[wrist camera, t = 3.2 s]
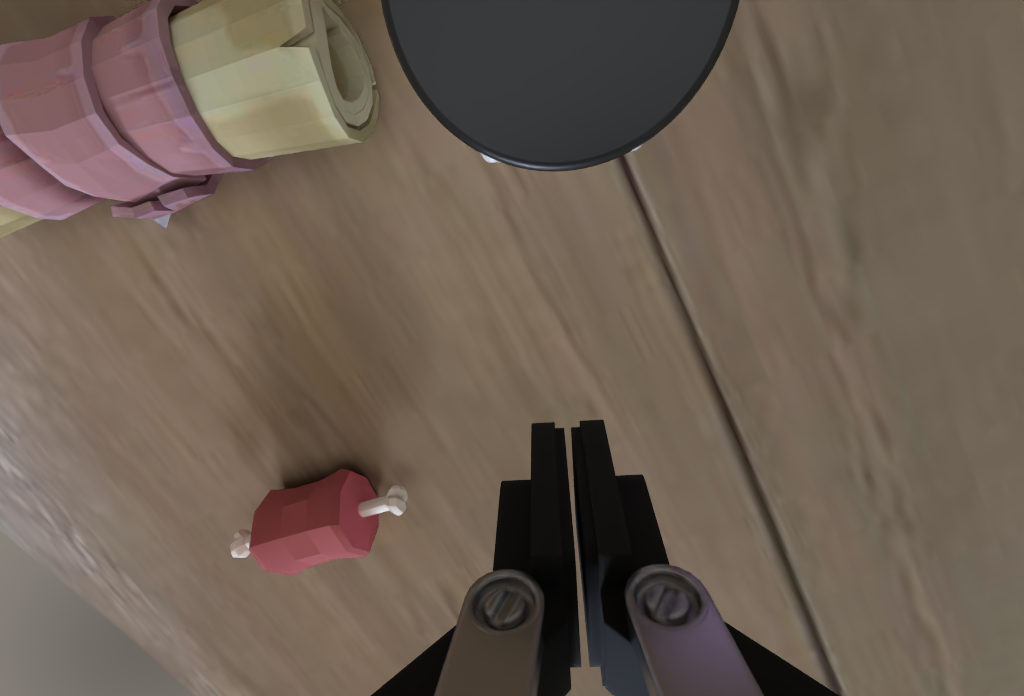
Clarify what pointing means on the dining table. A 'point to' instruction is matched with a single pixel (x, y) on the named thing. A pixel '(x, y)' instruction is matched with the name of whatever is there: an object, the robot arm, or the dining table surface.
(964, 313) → the dining table surface
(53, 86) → the scroll
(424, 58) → the jar
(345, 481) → the meat
